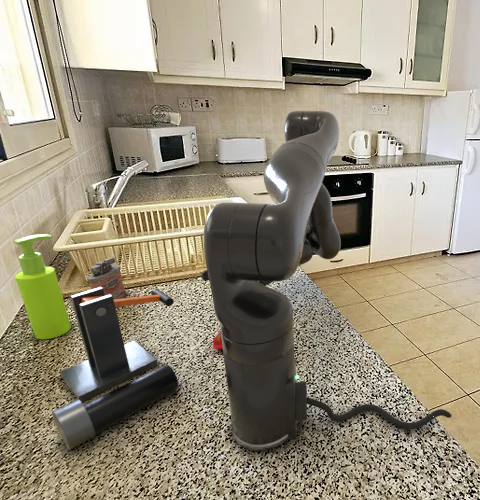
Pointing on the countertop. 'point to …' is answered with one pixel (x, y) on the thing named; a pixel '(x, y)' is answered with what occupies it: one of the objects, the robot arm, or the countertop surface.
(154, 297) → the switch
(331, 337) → the countertop surface
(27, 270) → the soap dispenser
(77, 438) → the flashlight
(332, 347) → the countertop surface
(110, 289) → the lighter
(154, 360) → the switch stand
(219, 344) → the candy bar
